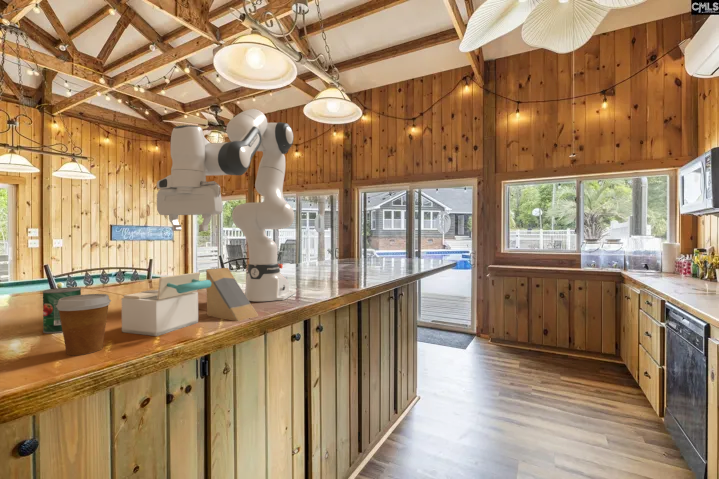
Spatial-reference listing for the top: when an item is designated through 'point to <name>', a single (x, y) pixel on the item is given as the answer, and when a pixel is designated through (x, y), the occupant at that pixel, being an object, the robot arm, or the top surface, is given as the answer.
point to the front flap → (180, 285)
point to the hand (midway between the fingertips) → (190, 230)
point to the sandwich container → (227, 297)
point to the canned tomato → (51, 311)
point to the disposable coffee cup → (83, 322)
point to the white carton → (159, 314)
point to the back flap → (142, 294)
